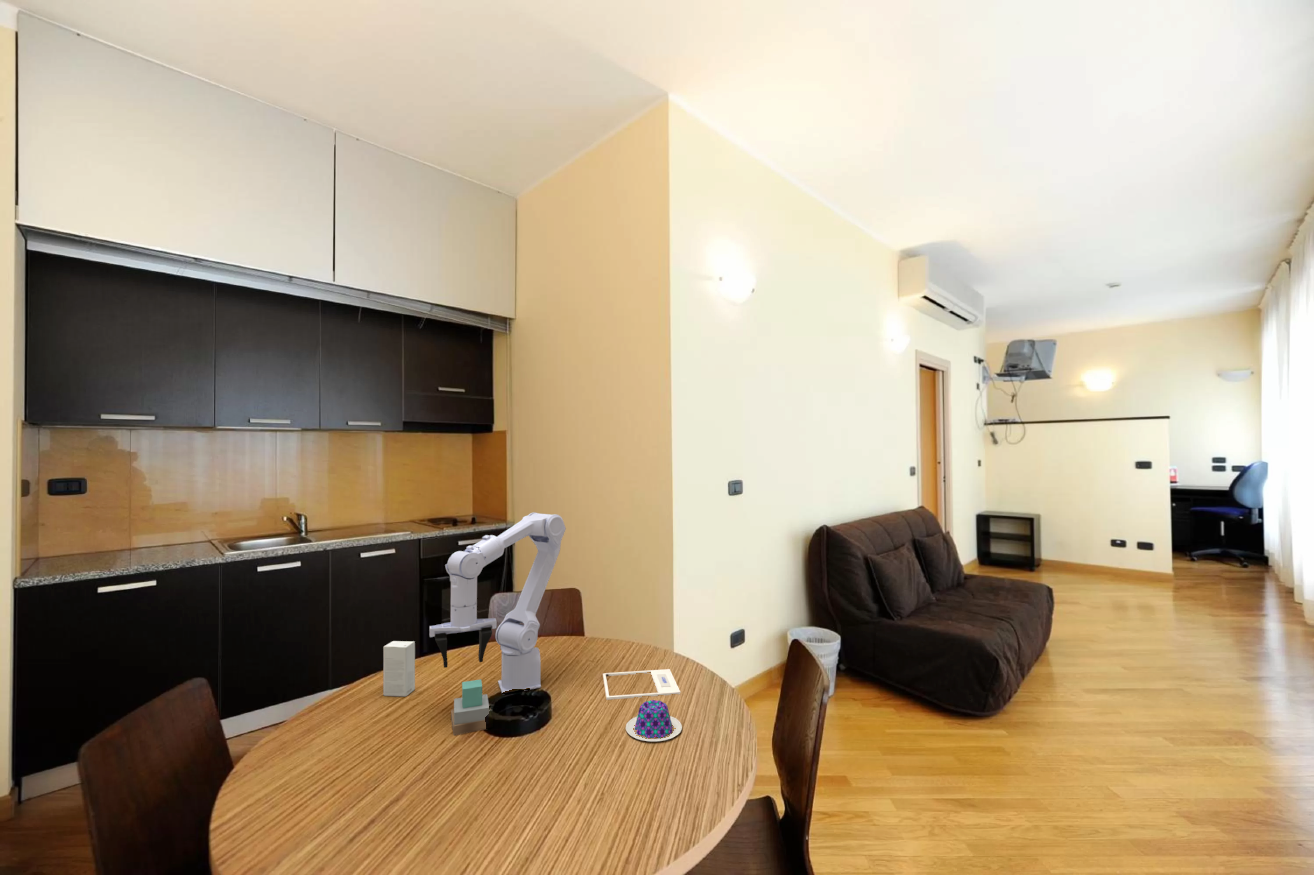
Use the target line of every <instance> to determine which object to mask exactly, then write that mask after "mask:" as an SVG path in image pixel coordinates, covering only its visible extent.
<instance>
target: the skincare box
mask: <svg viewBox="0 0 1314 875" xmlns="http://www.w3.org/2000/svg"><path fill="white" fill-rule="evenodd" d="M415 642H416V641H414V640H413V641H407V640H406V641H403V640H402V641H401V640H393V641H390V642H388V643H387V644H386V645H384V646H383V648H382V649H383V650H382V651H383V677H382V678H383V679H382V680H383V686H382V688H383V690H382V691H383V696H384V697H407V696H408V695H410V694H411V693H413V691H415V690H416V685H415V684H416V676H415V675H416V643H415Z"/></svg>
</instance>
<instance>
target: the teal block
mask: <svg viewBox="0 0 1314 875" xmlns="http://www.w3.org/2000/svg"><path fill="white" fill-rule="evenodd" d="M482 695H483V683H482V679H476V680H467V681H462V682H461V698H462V706H463V708H468V707H474V706H480V705H482Z"/></svg>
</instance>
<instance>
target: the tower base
mask: <svg viewBox="0 0 1314 875" xmlns="http://www.w3.org/2000/svg"><path fill="white" fill-rule="evenodd" d="M450 721H451V727H452V733H453V736H454V737H455V736H459V735H464V734H469V733H473V732H478V731H484V730H487V729H486V722H485V720H482V721H476V722H470V723H463V724H457V725H454V709H451V710H450Z"/></svg>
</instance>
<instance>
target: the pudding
mask: <svg viewBox="0 0 1314 875" xmlns="http://www.w3.org/2000/svg"><path fill="white" fill-rule="evenodd" d="M634 725H635V726H634ZM672 725H673V726H674V728H676V729H674V731H673V726H672ZM633 728H634V730H633ZM682 729H683V725H682V723H681V722H680V720H679V719H678V718H676V717H674V716H671V715H670V710H669V707H668V705H667V703H665V702H663V701H662V700H654V699H651V700H646V701H644V702H643V703H642V704H640V706H639V709H638V712H637V715H636V716H634V717H633V718H631V719H630V720H628V722H626V725H625V731H626V732H627V734H628V735H629V736H631V737H632V738H635V739H636V740H640V741H646V742H662V741H669V740H670V739H673V738H674V737H676V736H678V735H679V734H680V733H681V732H682V731H683V730H682ZM636 730H637V731H636ZM634 731H636V732H634ZM672 732H673V733H672ZM635 733H636V734H635ZM671 733H672V734H671ZM667 734H669V735H670V736H669V735H667ZM636 735H642V736H640V737H639V736H636ZM644 736H645V737H646V738H647V739H645V737H644ZM667 736H669V737H667ZM642 737H643V738H642ZM654 737H658V738H654ZM661 737H663V738H661ZM664 737H666V738H664ZM648 738H653V739H648ZM660 738H661V739H660Z"/></svg>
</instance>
